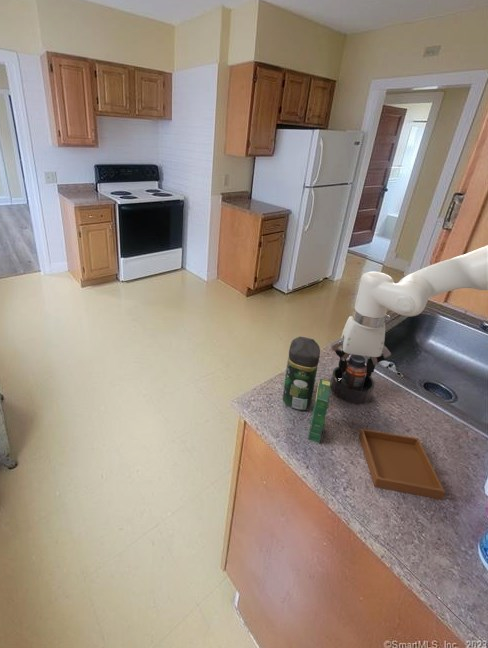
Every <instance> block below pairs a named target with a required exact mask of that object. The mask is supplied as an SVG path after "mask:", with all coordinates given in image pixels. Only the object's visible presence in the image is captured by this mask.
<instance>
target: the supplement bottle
mask: <svg viewBox="0 0 488 648" xmlns="http://www.w3.org/2000/svg"><path fill="white" fill-rule="evenodd" d="M346 360H347V365H346V369H345V372H344V373H343V374H342V379H341V384H343V385H344V386H346V387H348V388H351V389H354V390H359V391H362V389H363V385H364V381H365V377H366V373H367V366H366V357H365V356H362V355H354V354H350V355H349V358H347V359H346Z"/></svg>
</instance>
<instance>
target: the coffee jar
mask: <svg viewBox="0 0 488 648" xmlns="http://www.w3.org/2000/svg"><path fill="white" fill-rule="evenodd" d="M320 358H321V347H320V345H319V343H317V341H315V339H313V338H310V337H306V336H298V337H296V338H295V337H294V338H293V339H292V340H291V342H290V346H289V350H288V356H287V362H286V369H285V378H284V384H283V385H284V386H283V391H282V392H283V393H282V401H283V403H284V404H285V405H286V406H287V407H289V408H291V409H294V410H297V411H307V410H309V409H310V407H311V404H312V400H313V394H314V388H315V383H316V378H317V371H318V368H319V367H318V366H319V362H320Z"/></svg>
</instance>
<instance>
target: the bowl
mask: <svg viewBox="0 0 488 648" xmlns="http://www.w3.org/2000/svg"><path fill="white" fill-rule="evenodd" d="M342 374H343V373H342V371H341V368H339V366H336V367H335V368H334V369H333V370H332V374H331V380H330V386H331V387H330V390H331V389H332V390H331V391H332V393H333V392H334V393H333V394H334V395H335V396H336V397H337V398H339V400H341V401H343V402H346V403H349V404H351V405H356V406H357V405H358V406H359V405H365V404H368V403H369V402H370V401H371V399H372V397H373V393H374V389H375V380H374V378H373V377H372V376H371V377H370V376H368V375H367V373H366V377H365V381H364V385H363V389H362V391H359V390H354V389H351V388H348V387H346V386H344V385H343V384H341V380H340V381H338V380H339V379H338V378H342Z"/></svg>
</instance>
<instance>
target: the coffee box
mask: <svg viewBox="0 0 488 648" xmlns="http://www.w3.org/2000/svg"><path fill="white" fill-rule="evenodd" d="M330 383H331V380H326V379H323V378H319V380H318V385H317V389H316V394H315V399H314V405H313V410H312V415H311V421H310V427H309V432H308V437H307V438H308V441H310V442H312V443H315V444H320V443H321V438H322V433H323V428H324V424H325V419H326V416H327V415H326V414H327V410H328V406H329V400H330V392H331V387H330Z"/></svg>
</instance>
